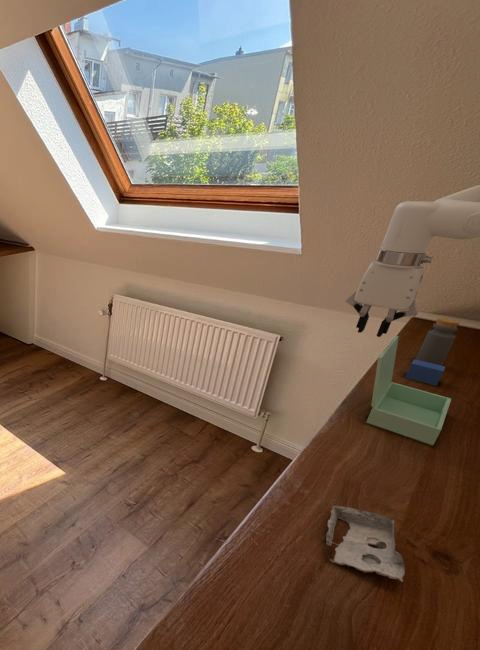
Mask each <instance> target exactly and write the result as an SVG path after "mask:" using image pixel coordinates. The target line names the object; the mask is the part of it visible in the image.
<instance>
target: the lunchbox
mask: <svg viewBox="0 0 480 650" xmlns="http://www.w3.org/2000/svg"><path fill="white" fill-rule="evenodd" d="M451 401H452V398H451V397H446V396H443V395H440V394H436V393H432V392H430V391H429V392H428V391H426V390H422V389H418V388H415V387H411V386H407V385H404V384H400V383H396V382H393V381H391V382H390V384H389V385H388V387H387V388H386V390H385V391H384V393H383V395H382V396H381V398H380V399H379V401H378V402H377V404H376V405H375V407H371V409H370V412H369V415H368V417H367V420H366V421H365V423H366V424H370V425H373V426H375V427H378V428H380V429H384V430H387V431H390V432H392V433H394V434H395V433H396V434H399V435H401V436H404V437H408V438H410V439H413V440H416V441H418V442H422V443H424V444H427V445H430V446H434V445H435V443H436V441H437V439H438V437H439V435H440V433H441V431H442V429H443V427H444V426H443V425H444V423H445V420H446V417H447V413H448V411H449V407H450V405H451Z"/></svg>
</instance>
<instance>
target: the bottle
mask: <svg viewBox="0 0 480 650" xmlns="http://www.w3.org/2000/svg"><path fill="white" fill-rule="evenodd" d="M460 323H461V322H460V321H459V320H456V319H453V318H450V317H449V318H448V317H436V322H434V323H433V324H432V328H433V329H430V330H428V331H427V334H426V336H425V338H424V340H423V342H422V345H421V346H420V349H419V351H418V353H417V355H416V358H415V359H416V360H420V361H424V362H428V363H432V364H437V365H441V366H443V364H444V362H445V360H446V358H447V356H448V354H449V352H450V351H451V348H452V346H453V344H454V342H455V339H456V337H457V336H456V335H455V334H454V333H455V332H457V331H458V328H459V327H458V325H460Z"/></svg>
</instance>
